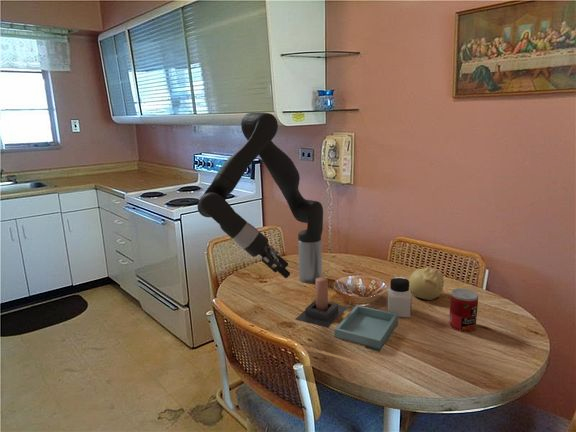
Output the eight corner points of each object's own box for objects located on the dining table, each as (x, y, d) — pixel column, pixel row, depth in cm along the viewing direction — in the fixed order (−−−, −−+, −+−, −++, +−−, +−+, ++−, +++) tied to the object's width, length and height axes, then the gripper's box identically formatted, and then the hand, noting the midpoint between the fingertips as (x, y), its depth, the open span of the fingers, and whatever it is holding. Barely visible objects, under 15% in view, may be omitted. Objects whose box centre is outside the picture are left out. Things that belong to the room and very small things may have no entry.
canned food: (464, 334, 124) (466, 301, 121) (443, 323, 131) (445, 291, 128) (481, 328, 127) (484, 295, 124) (460, 317, 134) (462, 286, 131)
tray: (356, 314, 138) (356, 305, 137) (397, 323, 131) (398, 313, 130) (334, 339, 123) (334, 329, 122) (379, 351, 116) (380, 340, 115)
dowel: (319, 309, 141) (318, 276, 138) (329, 311, 139) (329, 278, 136) (314, 314, 137) (313, 280, 135) (324, 316, 135) (324, 282, 133)
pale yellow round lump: (439, 305, 143) (440, 276, 140) (404, 298, 149) (405, 270, 146) (446, 293, 152) (447, 265, 150) (413, 287, 158) (414, 260, 156)
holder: (316, 302, 148) (316, 293, 147) (347, 309, 142) (347, 300, 141) (294, 322, 135) (294, 312, 134) (328, 330, 129) (327, 320, 128)
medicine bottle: (410, 318, 135) (412, 284, 132) (388, 316, 136) (389, 283, 133) (408, 308, 142) (410, 275, 139) (387, 306, 143) (388, 274, 140)
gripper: (258, 237, 123) (297, 270, 126) (258, 224, 136) (293, 255, 140) (241, 254, 124) (280, 288, 127) (243, 241, 137) (278, 271, 141)
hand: (287, 271), depth 134 cm, fingers open, 8 cm apart
